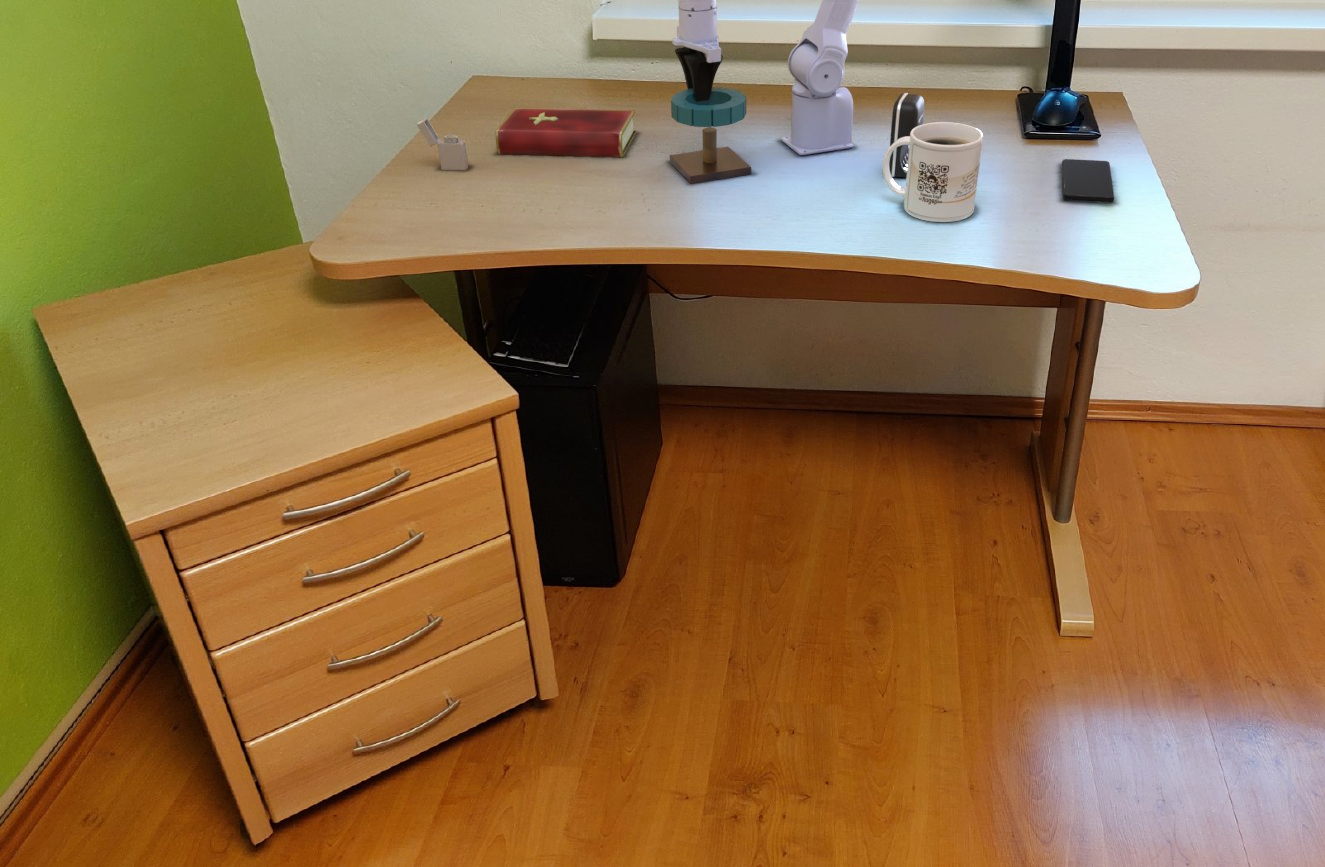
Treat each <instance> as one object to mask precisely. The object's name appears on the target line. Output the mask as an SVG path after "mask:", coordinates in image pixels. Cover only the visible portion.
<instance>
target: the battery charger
mask: <svg viewBox="0 0 1325 867" xmlns="http://www.w3.org/2000/svg"><path fill="white" fill-rule="evenodd" d="M924 115H925V100H924V97H923V96H922V95H920V94H917V93H916V94H915V93H909V92H904V93H900V94H899V96H898V97H897V98H896V100H895V102H894V104H893V107H892V115H891V128H890V140H889V147H890V146H891V145H892V144H893V143H894V142H895V141H896V140H898V139H899V138H902V137H906V136H910V132H911V131H912V129H913V128H915V127H917V126H919V125H923V124H924ZM908 154H909V145H901V146H899V147H897V148H896V149H894V151H893V152H892V154H891V157H890V162H889V169H890V174H891V176H892V178H895V177H896V178H906V176H907V165H908Z"/></svg>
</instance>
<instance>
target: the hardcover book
mask: <svg viewBox="0 0 1325 867" xmlns="http://www.w3.org/2000/svg"><path fill="white" fill-rule="evenodd" d="M635 113H636V110H635V109H596V108H595V109H592V108H590V109H589V108H588V109H587V108H543V107H542V108H540V107H539V108H536V107H535V108H534V107H532V108H531V107H514V108H513V109H512V110H511V111H510V112H509V114H508V115H507V117H505V118H504V120H503V121H502V122H501V123H500V124H499V126H498V127H497V128H496V129H495V131H494V132H495V135H494V136H495V146H496V150H497V155H517V156H518V155H520V156H521V155H522V156H525V155H526V156H561V157H563V156H564V157H565V156H566V157H596V158H597V157H599V158H601V157H603V158H606V157H607V158H624V156H625V154H626V153H627V151H628V149H629V147H630V146H631V144H632V141H633V140H634V138H635V136H636V134H637V130H634V121H633V118H634V116H635Z"/></svg>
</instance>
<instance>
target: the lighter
mask: <svg viewBox="0 0 1325 867" xmlns="http://www.w3.org/2000/svg"><path fill="white" fill-rule="evenodd" d="M416 127H417V128H418V129H419V131H420V133H421V134H422V136H423V138H424V139H425V141H426V142H427V144H428V146H429V147H433V146H435V145H437V149H438V156H439V163H440V170H442V171H467V169H468V168H469V160H468V159H469V158H468V152H467V146H466V144H467V143H466V140H464V139H463V140H462V139H461V140H460V137H458V136H457V135H456V134H445V135H444V136H443V139H441V138H440V137H439V135H438V134H437V131H436V130H435V129H434V127H433V125H432V123H431V122H430V121H429V119H428V117H423V118H421V119H420V120H418V121H417V123H416Z"/></svg>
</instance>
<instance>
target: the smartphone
mask: <svg viewBox="0 0 1325 867" xmlns="http://www.w3.org/2000/svg"><path fill="white" fill-rule="evenodd" d="M1112 178H1113V177H1112V170H1111V165H1110V162H1109V161H1107V160H1094V159H1073V158H1065V159H1062V161H1061V179H1062V180H1061V182H1062V198H1063V200H1065V201H1075V202H1093V203H1113V202H1114V201H1115V195H1114V186H1113V179H1112Z"/></svg>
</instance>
